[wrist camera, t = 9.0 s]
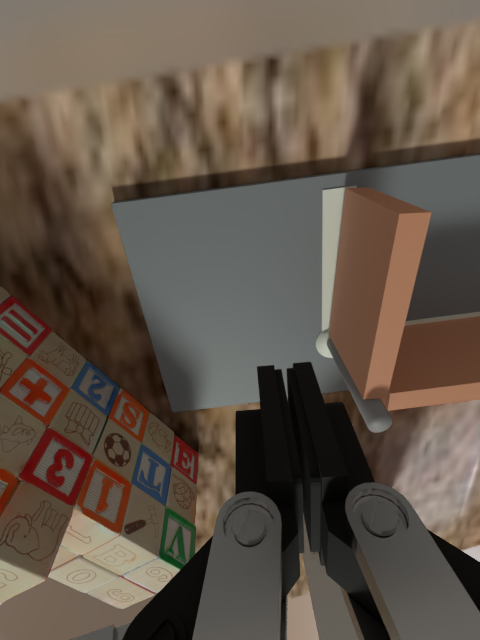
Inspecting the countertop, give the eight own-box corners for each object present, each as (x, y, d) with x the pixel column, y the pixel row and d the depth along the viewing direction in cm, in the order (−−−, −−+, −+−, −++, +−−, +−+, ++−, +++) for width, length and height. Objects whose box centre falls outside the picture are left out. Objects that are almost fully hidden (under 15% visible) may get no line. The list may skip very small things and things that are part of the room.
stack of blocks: (201, 451, 29) (192, 645, 18) (146, 482, 30) (106, 677, 19) (-35, 253, 19) (-347, 410, 9) (-98, 312, 21) (-426, 506, 10)
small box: (387, 498, 33) (475, 690, 22) (332, 524, 35) (387, 715, 24) (346, 457, 30) (424, 659, 18) (287, 489, 32) (325, 691, 20)
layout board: (598, 137, 18) (611, 138, 18) (516, 363, 26) (523, 368, 25) (114, 201, 18) (110, 204, 18) (173, 407, 26) (172, 413, 25)
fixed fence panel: (536, 305, 22) (660, 374, 16) (528, 326, 23) (644, 400, 17) (350, 329, 22) (401, 407, 16) (349, 349, 23) (397, 431, 17)
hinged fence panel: (343, 349, 23) (389, 431, 17) (325, 350, 23) (366, 433, 17) (366, 186, 18) (445, 217, 12) (343, 187, 18) (411, 219, 12)
